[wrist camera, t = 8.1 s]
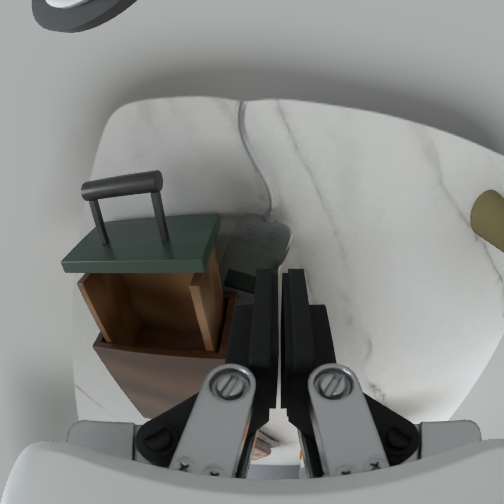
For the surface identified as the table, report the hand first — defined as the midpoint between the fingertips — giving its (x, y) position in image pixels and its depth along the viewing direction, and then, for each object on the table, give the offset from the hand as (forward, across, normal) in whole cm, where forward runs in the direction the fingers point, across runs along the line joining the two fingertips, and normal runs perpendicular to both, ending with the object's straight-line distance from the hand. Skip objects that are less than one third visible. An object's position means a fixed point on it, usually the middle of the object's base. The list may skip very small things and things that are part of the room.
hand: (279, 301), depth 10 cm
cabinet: (+17, +11, +22) cm, 30 cm away
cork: (+17, -26, +3) cm, 31 cm away
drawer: (+16, +12, +8) cm, 21 cm away
